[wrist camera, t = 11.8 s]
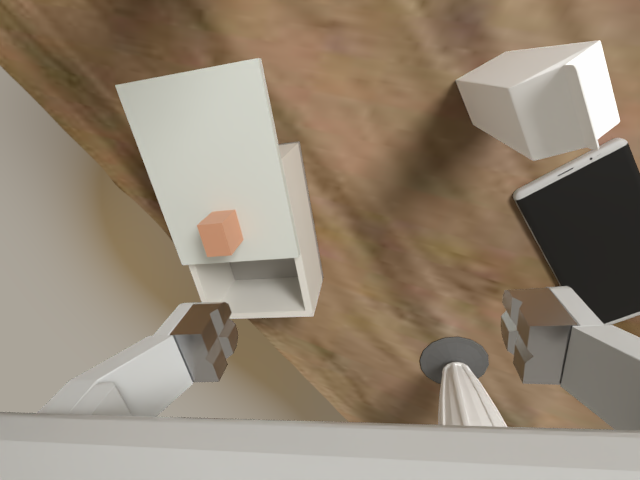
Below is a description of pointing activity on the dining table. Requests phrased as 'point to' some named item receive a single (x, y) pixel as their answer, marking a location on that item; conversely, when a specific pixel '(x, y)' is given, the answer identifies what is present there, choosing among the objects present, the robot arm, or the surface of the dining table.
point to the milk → (543, 98)
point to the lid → (214, 162)
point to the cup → (460, 382)
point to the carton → (271, 263)
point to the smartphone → (591, 227)
